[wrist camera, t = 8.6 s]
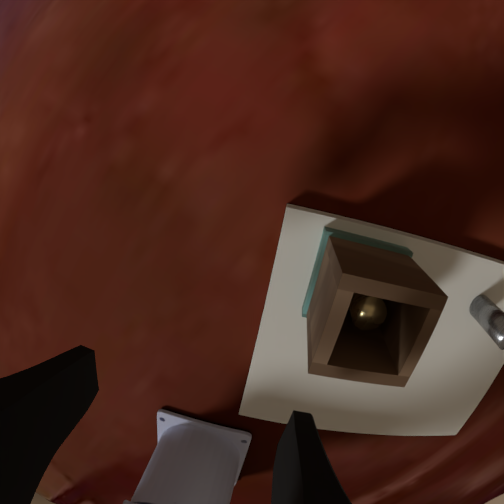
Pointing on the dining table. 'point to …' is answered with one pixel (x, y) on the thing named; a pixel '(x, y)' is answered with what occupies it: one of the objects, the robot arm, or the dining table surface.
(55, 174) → the dining table surface
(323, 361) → the walnut sleeve
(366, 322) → the brass pin
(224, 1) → the dining table surface
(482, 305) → the steel pin
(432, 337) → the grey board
